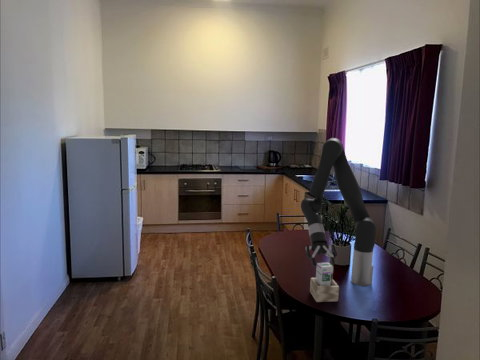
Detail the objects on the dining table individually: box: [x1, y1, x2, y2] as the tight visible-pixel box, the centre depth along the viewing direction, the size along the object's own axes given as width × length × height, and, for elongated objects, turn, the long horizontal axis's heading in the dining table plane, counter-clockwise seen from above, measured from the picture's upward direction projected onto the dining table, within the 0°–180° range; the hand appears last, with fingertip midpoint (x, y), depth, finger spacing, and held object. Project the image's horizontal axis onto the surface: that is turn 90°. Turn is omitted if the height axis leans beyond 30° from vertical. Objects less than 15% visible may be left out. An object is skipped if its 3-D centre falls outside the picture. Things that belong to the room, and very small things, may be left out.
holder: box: [309, 277, 340, 303], centre depth 177 cm, size 10×10×7 cm
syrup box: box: [315, 261, 334, 286], centre depth 177 cm, size 6×6×14 cm
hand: (323, 266), depth 179 cm, fingers open, 8 cm apart
